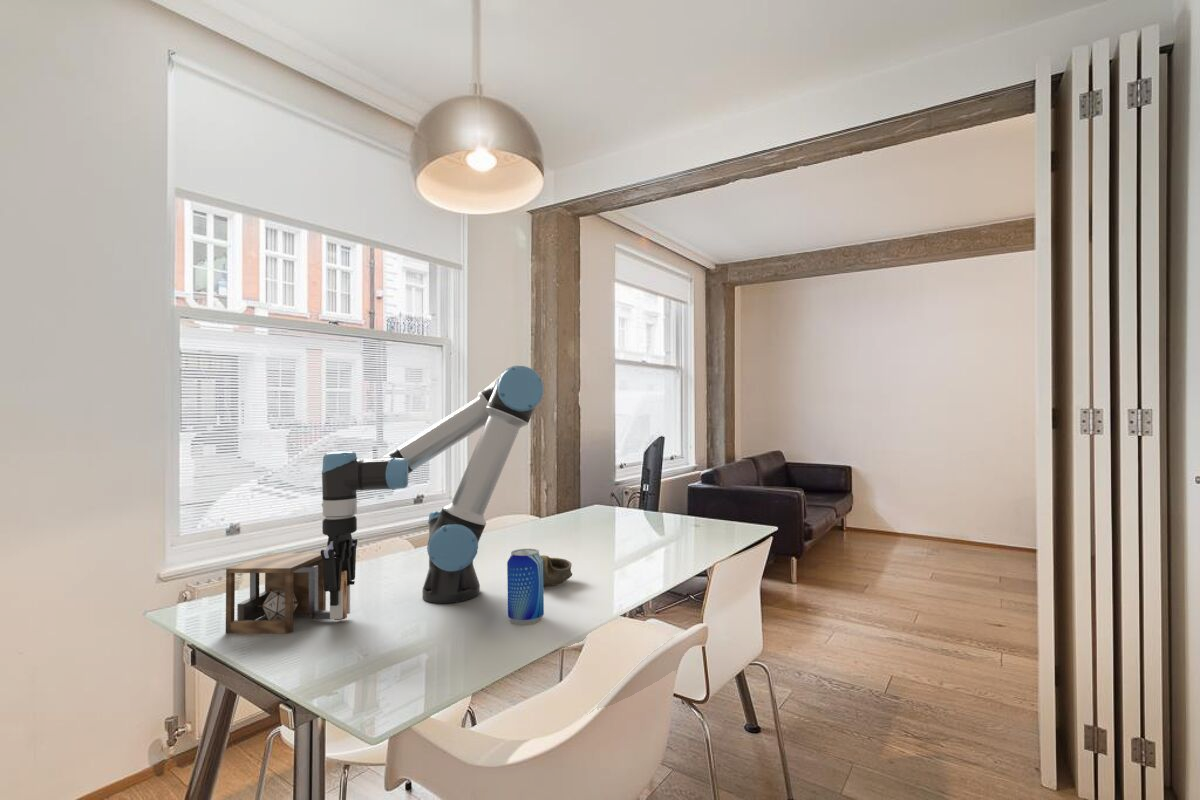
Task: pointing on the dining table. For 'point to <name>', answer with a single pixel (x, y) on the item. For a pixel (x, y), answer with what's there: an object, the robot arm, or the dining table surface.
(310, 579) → the pull yoke
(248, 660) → the dining table surface
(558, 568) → the brown rounded hollow piece
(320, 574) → the shelf lane
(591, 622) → the dining table surface
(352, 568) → the robot arm
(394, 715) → the dining table surface
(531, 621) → the beer can
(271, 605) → the game die
